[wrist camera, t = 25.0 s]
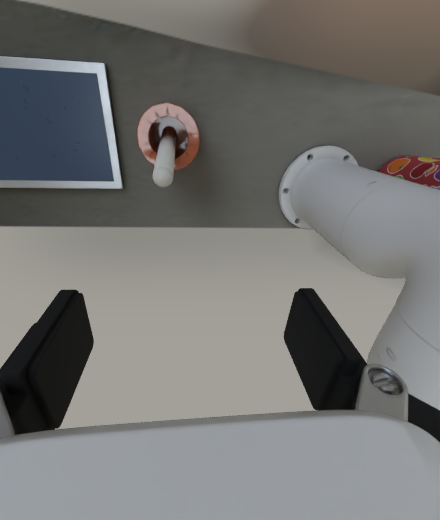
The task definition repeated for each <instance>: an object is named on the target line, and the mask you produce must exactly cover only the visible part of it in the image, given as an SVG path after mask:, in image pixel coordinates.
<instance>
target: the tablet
mask: <svg viewBox="0 0 440 520" xmlns="http://www.w3.org/2000/svg"><path fill="white" fill-rule="evenodd" d="M0 188H93V189H123V188H124V185H123V178H122V171H121V164H120V157H119V150H118V143H117V136H116V129H115V122H114V115H113V108H112V101H111V94H110V87H109V80H108V73H107V66H106V64H104V63H93V62H78V61H64V60H49V59H34V58H20V57H5V56H0Z"/></svg>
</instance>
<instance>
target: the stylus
mask: <svg viewBox="0 0 440 520" xmlns="http://www.w3.org/2000/svg"><path fill="white" fill-rule="evenodd" d="M175 147H176V131H175V129H174V128H172V127H169V126H168V127H165V128H164V129H163V131H162V135H161V139H160V144H159V148H158V153H157V157H156V162H155V166H154V171H153V180H154V182H155V183H156V184H157V185H158V186H160V187H167V186H169V185H170V184H171V183H172V181H173V173H174V160H175Z"/></svg>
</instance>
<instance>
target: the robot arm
mask: <svg viewBox="0 0 440 520" xmlns="http://www.w3.org/2000/svg"><path fill="white" fill-rule="evenodd" d="M308 155H309V158H307V157H308ZM343 158H344V159H343ZM284 189H285V191H283V190H284ZM279 204H280V208H281V210H282V213H283V214H284V215H285V217H286V218H287V219H288V220H289V221H290V222H291V223H292V224H294V225H295V226H297V227H300V228H303V229H314V230H315V231H316V232H317V233H319V234H320V235H321V236H322V237H323V238H324V239H325V240H327V241H328V242H329V243H330V244H331V245H332V246H333V247H334V248H336V249H337V250H338V251H339V252H340V253H341V254H342V255H343V256H345V257H346V258H347V259H348V260H349V261H351V262H352V263H353V264H354V265H355V266H356V267H358V268H359V269H360V270H362V271H364V272H366V273H367V274H370V275H373V276H376V277H381V278H406V282H405V285H404V287H403V289H402V291H401V293H400V295H399V297H398V299H397V301H396V304H395V306H394V307H393V309H392V311H391V313H390V315H389V316H388V318H387V320H386V322H385V323H384V325H383V327H382V329H381V331H380V332H379V334H378V336H377V338H376V340H375V342H374V344H373V346H372V348H371V350H370V352H369V356H368V359H367V363H366V362H365V360H364V359H363V358H362V356H361V355H360V353H359V352H358V350H357V349H356V348H355V346H354V345H353V343H352V342H351V341H350V339H349V338H348V337H347V335H346V334H345V332H344V331H343V330H342V328H341V327H340V326H339V324H338V323H337V321H336V320H335V318H334V317H333V316H332V314H331V313H330V311H329V310H328V309H327V307H326V306H325V304H324V303H323V302H322V300H321V299H320V298H319V296H318V295H317V293H316V292H315V291H314V289H312V288H301V289H299V290H298V292H295V294H294V298H293V302H292V306H291V309H290V313H289V317H288V320H287V325H286V328H285V332H284V340H285V343H286V345H287V348H288V350H289V352H290V355H291V357H292V359H293V362H294V364H295V366H296V369H297V371H298V373H299V376H300V378H301V380H302V382H303V385H304V387H305V390H306V392H307V394H308V397H309V399H310V401H311V404H312V406H313V408H314V409H315V410H318V411H301V412H300V411H299V412H284V413H269V414H253V415H238V416H224V417H210V418H196V419H181V420H167V421H154V422H141V423H128V424H115V425H102V426H89V427H79V428H68V429H57V430H55V428H59V427H60V425H61V423H62V421H63V419H64V416H65V414H66V411H67V409H68V407H69V404H70V402H71V399H72V397H73V394H74V392H75V389H76V387H77V384H78V382H79V380H80V377H81V375H82V372H83V370H84V367H85V365H86V363H87V360H88V358H89V355H90V353H91V350H92V348H93V342H94V341H93V335H92V331H91V327H90V323H89V319H88V314H87V310H86V306H85V301H84V297H83V294H82V293H79V292H78V291H77V290H61V291H60V292H59V293H58V294H57V296H56V297H55V298H54V300H53V301H52V302H51V304H50V305H49V307H48V308H47V309H46V311H45V312H44V314H43V315H42V316H41V318H40V319H39V320H38V322H37V323H35V324H34V325H33V326H32V327H31V328H30V329H29V331H28V332H27V333H26V335H25V336H24V338H23V339H22V340H21V342H20V343H19V344H18V346H17V347H16V348H15V350H14V351H13V352H12V354H11V355H10V357H9V358H8V359H7V361H6V362H5V363H4V365H3V366H2V367H1V369H0V520H440V190H438V189H434V188H431V187H427V186H424V185H420V184H417V183H413V182H410V181H407V180H403V179H400V178H397V177H393V176H390V175H387V174H383V173H380V172H377V171H373V170H370V169H367V168H363V167H360V166H358V164H357V162H356V160H355V158H354V157H353V156H352V155H351V154H350V153H349V152H347V151H346V150H344V149H342V148H339V147H335V146H319V147H315V148H312V149H310V150H307V151H306V152H304V153H303V154H301V155H300V156H298V157H297V158H296V159H295V160H294V161H293V162H292V163H291V165H290V166H289V167H288V168H287V170H286V172H285V173H284V175H283V178H282V180H281V183H280V187H279Z"/></svg>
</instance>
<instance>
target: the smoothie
mask: <svg viewBox="0 0 440 520" xmlns="http://www.w3.org/2000/svg"><path fill="white" fill-rule="evenodd" d="M379 172H380V173H383V174H387V175H390V176H393V177H397V178H400V179H403V180H407V181H410V182H413V183H417V184H420V185H424V186H427V187H431V188H434V189H438V190H440V159H439V158H428V157H418V156H400V157H398V158H396V159H393V160H391V161H389V162H387V163H386V164H385V165H383V167H382V168H381V169H380V170H379Z"/></svg>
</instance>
